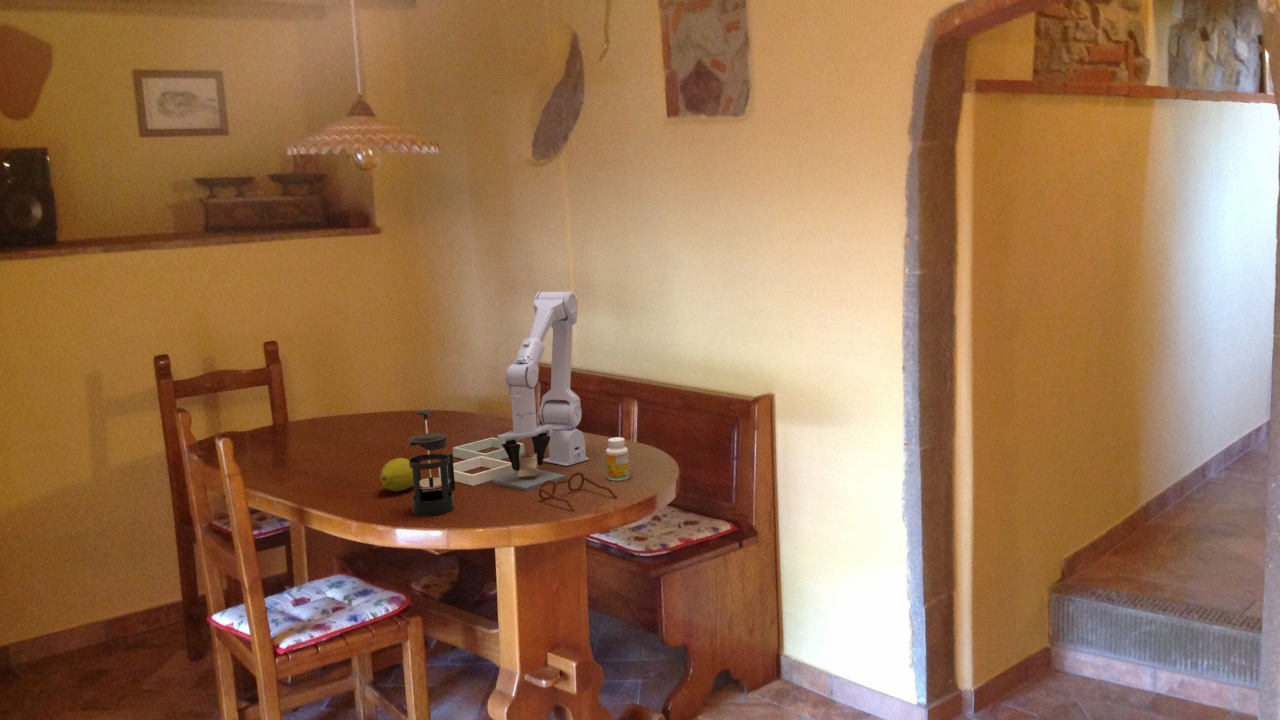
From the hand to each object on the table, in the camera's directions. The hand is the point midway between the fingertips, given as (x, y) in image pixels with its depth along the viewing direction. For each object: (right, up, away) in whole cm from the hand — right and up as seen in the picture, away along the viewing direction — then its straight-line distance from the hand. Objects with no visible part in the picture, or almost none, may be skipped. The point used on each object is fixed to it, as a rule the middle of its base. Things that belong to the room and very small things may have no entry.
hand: (527, 467), depth 272 cm
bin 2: (-13, -3, +8) cm, 16 cm away
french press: (-19, -8, -19) cm, 28 cm away
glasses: (+13, -6, -17) cm, 23 cm away
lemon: (-31, -6, -3) cm, 31 cm away
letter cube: (0, -2, 0) cm, 2 cm away
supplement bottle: (+22, -3, -1) cm, 22 cm away
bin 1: (-13, +1, +28) cm, 31 cm away
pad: (0, -3, +1) cm, 3 cm away
